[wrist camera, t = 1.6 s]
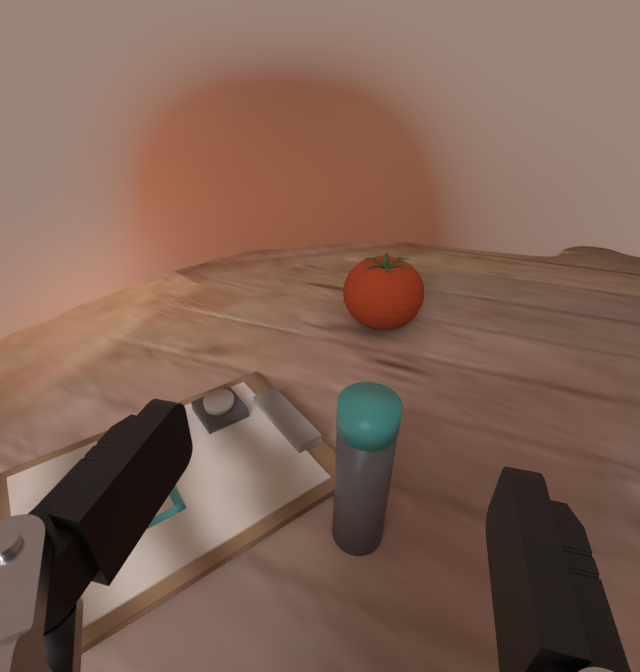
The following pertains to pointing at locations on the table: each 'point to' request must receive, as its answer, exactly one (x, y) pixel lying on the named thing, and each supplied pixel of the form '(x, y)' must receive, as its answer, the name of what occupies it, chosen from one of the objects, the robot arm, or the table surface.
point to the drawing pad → (199, 497)
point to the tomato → (383, 292)
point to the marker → (364, 464)
